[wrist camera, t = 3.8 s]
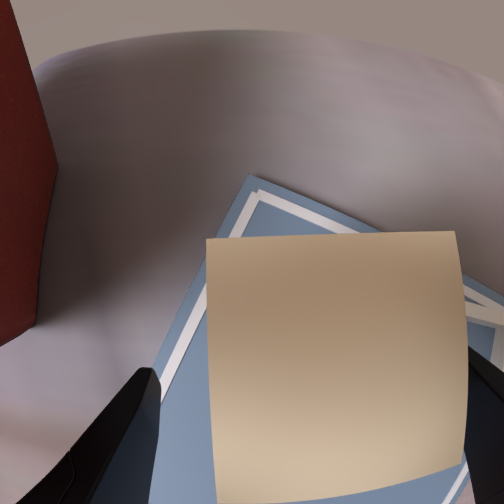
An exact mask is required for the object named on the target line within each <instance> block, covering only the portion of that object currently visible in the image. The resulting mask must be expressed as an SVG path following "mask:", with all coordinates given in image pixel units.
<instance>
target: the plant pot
mask: <svg viewBox="0 0 504 504" xmlns="http://www.w3.org/2000/svg"><path fill="white" fill-rule="evenodd" d="M57 169H58V163H57V159H56V155H55V151H54V147H53V143H52V140H51V136H50V133H49V129H48V125H47V122H46V118H45V115H44V111H43V108H42V104H41V101H40V97H39V94H38V91H37V87H36V84H35V80H34V77H33V74H32V70H31V67H30V64H29V60H28V57H27V54H26V51H25V47H24V44H23V41H22V37H21V34H20V31H19V28H18V25H17V22H16V19H15V15H14V12H13V9H12V6H11V3H10V0H0V346H2V345H4V344H6V343H8V342H9V341H11V340H13V339H15V338H16V337H18V336H20V335H21V334H23V333H24V332H25V331H27V330H28V329H29V328H31V327H32V326H33V324H34V322H35V318H36V308H37V292H38V280H39V271H40V261H41V253H42V246H43V239H44V233H45V227H46V221H47V216H48V210H49V205H50V200H51V196H52V191H53V186H54V182H55V178H56V174H57Z"/></svg>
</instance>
